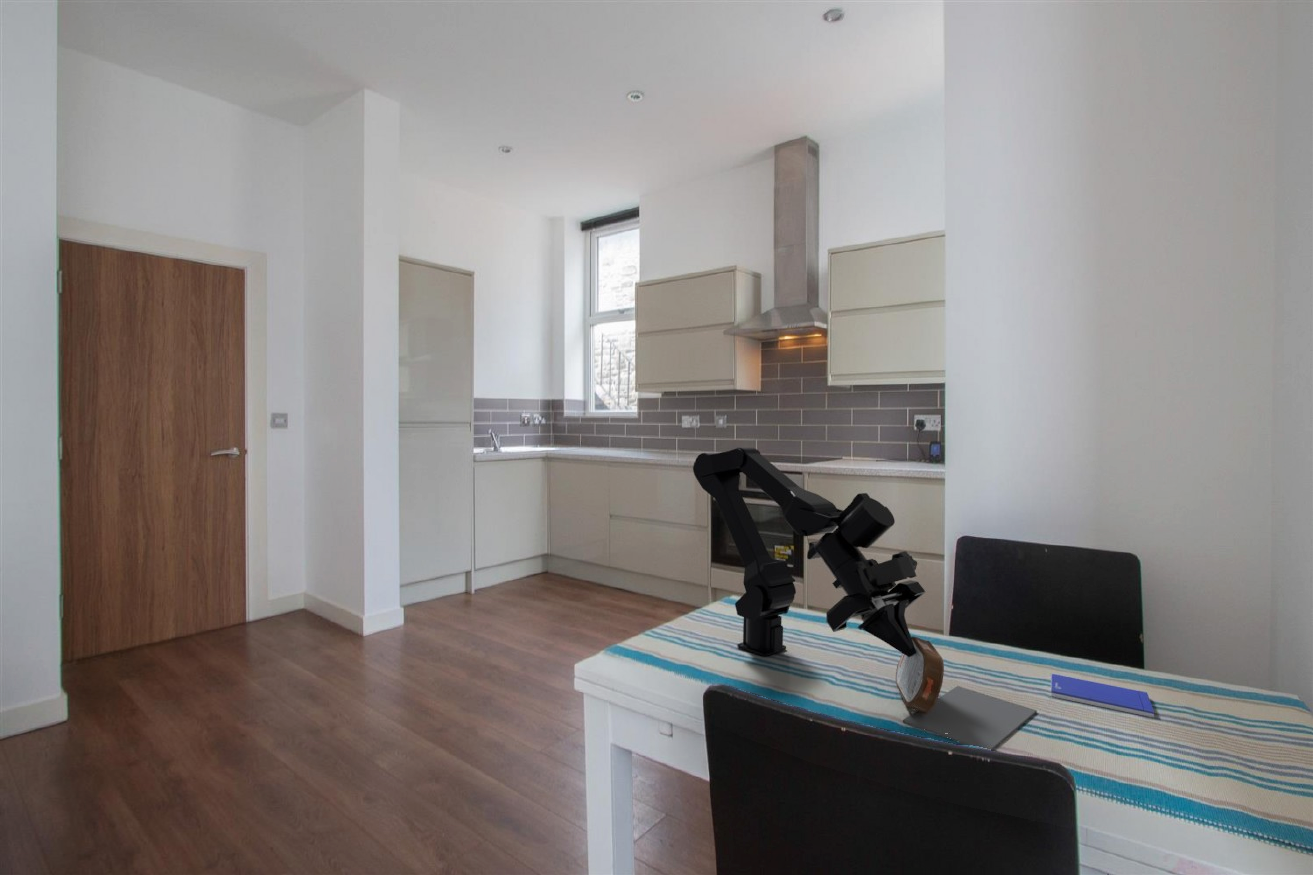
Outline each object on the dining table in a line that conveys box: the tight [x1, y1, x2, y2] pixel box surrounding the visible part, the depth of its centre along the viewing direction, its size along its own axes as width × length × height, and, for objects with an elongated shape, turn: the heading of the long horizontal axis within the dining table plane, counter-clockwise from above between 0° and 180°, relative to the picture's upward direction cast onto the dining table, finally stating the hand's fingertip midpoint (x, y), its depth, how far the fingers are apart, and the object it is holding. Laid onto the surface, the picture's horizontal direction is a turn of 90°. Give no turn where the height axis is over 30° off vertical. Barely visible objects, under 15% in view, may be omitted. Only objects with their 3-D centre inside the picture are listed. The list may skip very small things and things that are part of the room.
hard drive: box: [1050, 673, 1155, 718], centre depth 96 cm, size 2×8×12 cm
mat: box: [902, 685, 1038, 751], centre depth 88 cm, size 11×18×1 cm, turn 132°
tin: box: [895, 636, 945, 714], centre depth 92 cm, size 15×3×8 cm, turn 168°
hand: (912, 655), depth 91 cm, fingers closed
